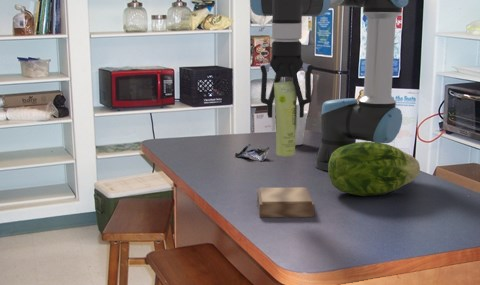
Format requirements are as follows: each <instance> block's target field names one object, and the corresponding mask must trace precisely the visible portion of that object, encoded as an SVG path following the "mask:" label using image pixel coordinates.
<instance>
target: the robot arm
mask: <svg viewBox="0 0 480 285" xmlns="http://www.w3.org/2000/svg"><path fill="white" fill-rule="evenodd" d="M249 4H250V6H249V7H250V9H251V12H252V13H253V14H254V15H256V16H261V17H272V19H271V20H272V21H271V22H272V23H271V38H272V40H273V41H272V42H271V59H270V61H269V62H268V63H264V64H263V63H261V64H260V65H259V68H260V72H261V89H260V102H261V103H262V104H265V105H266V106H267V108H266V109H267V111H266V112H267V117H268V118H269V119H271V131H272V132H276V115H275V104H274V102H275V95H274V83H279V82H280V81H281V79H282V78H286V77H287V78H291V80H292V81H293V84H294V87H295V90H296V94H297V101H298V104H297V103H296V128H295V129H296V131H299V122H300V118H303V116H304V111H305V106H306V104H310V103H311V102H312V81H311V80H312V79H311V75H312V71H313V67H314V65H312V64H311V63H309V64H308V63H305V62H303V59H302V41H300V40H301V39H302V38H303V36H302V34H303V33H302V27H303V26H302V24H303V23H302V22H303V19H302V18H303V17H315V18H316V17H317V18H318V17H320V16H321V17H322V16H324V15H325V14H326V13H328V12H329V10H330V7H351V8H353V7H354V8H362V14H363V15H364V16H365V17H366V19H367V24H366V43H365V46H366V47H365V66H364V81H363V82H364V83H363V95H362V96H361V97H360V98H359V99H357V98H351V97H350V98H337V99H330V100H326V101H324V102H323V103H322V104H321V105H322V106H321V113H320V116H321V123H320V124H321V126H320V130H321V131H320V146H319V149H318V151H317V154H316V157H315V162H314V163H315V164H314V166H315V167H316V168H317V169H319V170H323V171H326V172H328V164H329V160H330V157H331V155H332V153H333V152H334V151H335V150H337V149H338V148H340V147H343V146H346V145H349V144H353V143H357V141H358V140H359V141H363V142H375V143H383V144H390V143H392V142H393V141H394V140H395V139H396V137H397V136H398V134H399V133H400V130H401V129H402V128H401V127H402V124H403V113H402V110H401V109H400V108H398V107H397V106H396V105H397V100H395V99H394V98H393V96H392V90H393V89H392V87H393V71H394V56H395V40H396V39H395V38H396V23H397V22H396V19H397V18H398V17H399V16H400V15H402V8H404V7H406V6H407V5H408V4H409V0H249ZM270 68H271V69H272V70H273V71H274V73H275V75H274V79H273V81H272V82H273V83H272V86H271V90H270V93H269V96H268V98H267V86H268V85H267V84H268V82H267V81H268V72H270ZM301 68H302V70H303V72H304V90H305V91H304V93H305V98H303V94H302V90H301V87H300V83H299V78H298V75H297V74H298V72H299V71H300V70H301Z"/></svg>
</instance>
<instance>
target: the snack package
mask: <svg viewBox="0 0 480 285" xmlns="http://www.w3.org/2000/svg"><path fill="white" fill-rule="evenodd" d="M252 145H253V144H252ZM249 148H251V143H250V144H249V143H248V145H246V146H245V147H243V149H242V150H241V151H240V152H239V153H237V152H235V154H234V157H236V158H242V157H243V159H245V158H248V159H251V160H253V158H255V157H256V158H255V159H257V158H258V159H259V160H258V159H257V160H256V161H255V162H258V161H259V162H263V161H264V160H265V159H266V157H267V156H268V152H269V150H270V146H268V147H266V148H264V149H263V148H260V147H259V148H253V149H250V150H248V149H249ZM246 156H253V157H246Z"/></svg>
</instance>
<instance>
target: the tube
mask: <svg viewBox="0 0 480 285" xmlns="http://www.w3.org/2000/svg"><path fill="white" fill-rule="evenodd" d="M274 95H275V98H274V105H275V144H276V145H275V146H276V147H275V148H276V149H275V153H276V155H277V156H278V157H293V156H295V154H296V145H295V128H296V104H297V101H298V98H297V94H296V90H295V87H294V84H293V80H292V81H291V80H290V81H281V82H280V81H279V83H274Z"/></svg>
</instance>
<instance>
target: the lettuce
mask: <svg viewBox="0 0 480 285" xmlns="http://www.w3.org/2000/svg"><path fill="white" fill-rule="evenodd" d="M420 167H421V166H420V162H419V161H418V160H417V158H415V157H414V156H413V155H411V154H410V153H409V154H408V153H407V152H404V151H402V150H401V149H399V148H398V147H395V146H393V145H390V144H388V143H375V142H370V141H360V142H359V141H358V142H357V141H356V143H353V144H349V145H346V146H343V147H340V148H338V149H337V150H335V151H334V152H333V153H332V155H331V157H330V160H329V164H328V171H327V172H328V173H327V174H328V178H329V179H330V182H331V184H332V186H333V187H335V188H336V189H337V190H338V191H340V192H343V193H346V194H351V195H354V196H361V197H364V196H365V197H366V196H367V197H370V196H379V195H385V194H388V193H391V192H393V191H396V190H398V189H400V188H402V187H403V186H405V185H407V184H410V183H412V182H413V181H414V180H415V179H416V178H418V177H419V175H420V172H421V168H420Z"/></svg>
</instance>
